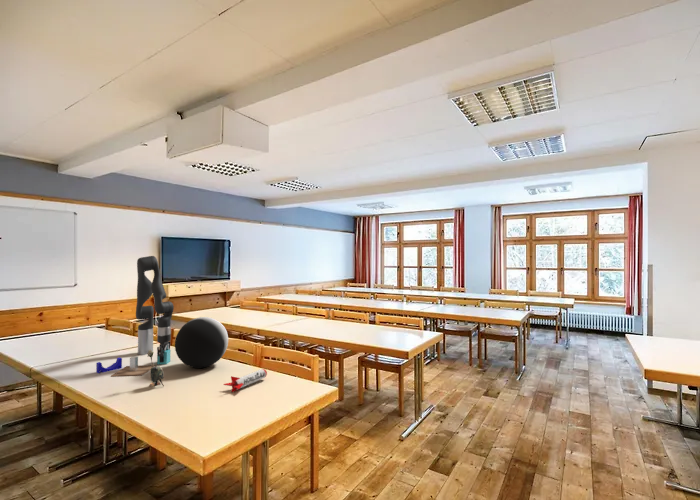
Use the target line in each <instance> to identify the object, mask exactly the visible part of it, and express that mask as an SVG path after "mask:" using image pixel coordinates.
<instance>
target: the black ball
mask: <svg viewBox="0 0 700 500" xmlns="http://www.w3.org/2000/svg"><path fill="white" fill-rule="evenodd" d="M228 345H229V335H228V331H227V329H226V327H225V326H224V325H223V324H222V322H220V321H219V320H217V319H215V318H212V317H209V316H200V317H196V318H192V319H190V320H189V321H187V322H186V323H184V324H183V326H181V328H180V329H179V330H178V332H177V334H176V336H175V339H174V351H175V354H176V356H177V358H178V359H179V360H180V361H181V362H182V363H183V364H184V365H186V366H188V367H191V368H196V369H201V368H202V369H203V368H207V367H210V366H212V365H214V364H216V363H217V362H219V360H221V358H223V356H224V355H225V353H226V351H227V349H228V347H229V346H228Z"/></svg>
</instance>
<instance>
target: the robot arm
mask: <svg viewBox="0 0 700 500" xmlns="http://www.w3.org/2000/svg"><path fill="white" fill-rule="evenodd" d="M136 266H137V267H136V269H137V288H136V307H135V318H136V319H137V320H140V321H141V320H147V321H145V322H143V323H140V324H139V325H138V326H137V355H138V356H146V355H148V354H147V353H148V351H149V350H152V351H153V352H154V317H155V316H154V314H155V313H156V314H158V315H162V314H163V315H162V316H160V317H159V318H158V319H157V333H156V334H157V335H156V341H157V343H159V346H157V348H156V354H157V353H158V356H160V362H164V352H165V351H166V350H171V342H172V341H171V340H172V327H171V323H172V322H171V319H172V316H173V312H174V307H175V306H174V303H173V302H172V301H163V300H165V299H166V298H167V293H166V291H165V287H164V285H163V281H162V275H161V270H160V267H159V261H158V259H157V257H156V256H154V255H149V256H141V257H138V259H137V262H136ZM149 271H153V280H152V281H151V280H150V279H149V278H148V277H147V275H146V274H145V272H149ZM151 296H153V302H154V306H153V305H144V304H145V303H146V302H147V301H148V300H149V299H150V298H151ZM163 350H164V351H163Z"/></svg>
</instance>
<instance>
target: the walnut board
mask: <svg viewBox="0 0 700 500" xmlns="http://www.w3.org/2000/svg"><path fill="white" fill-rule="evenodd" d="M154 366H156V365H154V364H153V367H154ZM151 368H152V364H151V365H150V364H149V365H138V369H137V370H136V371H130V365H126V366H124V367H122V368H121V369H118V371H116V372H113V374H111V375H110V377H113V378H114V377H138V376H139V377H142V376H143V375H145V374H146V373H148V372H149V371H151Z"/></svg>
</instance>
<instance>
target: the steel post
mask: <svg viewBox="0 0 700 500" xmlns="http://www.w3.org/2000/svg"><path fill="white" fill-rule="evenodd" d="M129 366H130V371H136V370H137V369H138V366H139V355H138V356H131V357H129Z"/></svg>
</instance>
